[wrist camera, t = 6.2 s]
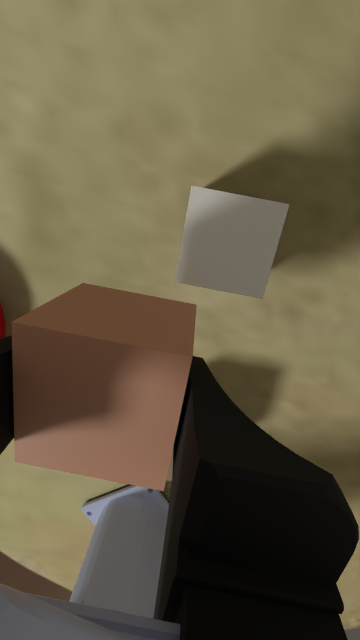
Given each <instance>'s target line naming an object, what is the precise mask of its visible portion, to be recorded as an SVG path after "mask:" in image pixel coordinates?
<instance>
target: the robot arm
mask: <svg viewBox="0 0 360 640" xmlns="http://www.w3.org/2000/svg"><path fill="white" fill-rule="evenodd" d="M13 438H14V402H13V364H12V336H9V337H5V338H1V339H0V454H1V453H2V452H3V451H4V449H5V448H6V447H7V445H8V444H9V443H10V442H11V441H12V439H13ZM81 510H82V511H83V513H84V514H85V515H86V516H87V517H88V518H89V519H90V521H91V522H92V523H93V524H94V525H95V529H94V532H93V535H92V538H91V541H90V543H89V546H88V549H87V552H86V555H85V558H84V561H83V564H82V566H81V569H80V572H79V575H78V578H77V581H76V584H75V587H74V589H73V592H72V595H71V598H70V601H69V602H68V601H63V600H59V599H53V598H48V597H44V596H39V595H34V594H29V593H24V592H21V591H18V590H16V589H14V588H11V587H8V586H6V585H3V584H1V583H0V640H347V637H346V634H345V631H344V628H343V625H342V622H341V619H340V617H339V614H342V612H343V611H344V605H343V601H342V598H341V596H340V593H339V590H338V587H337V585H336V582H337V581H338V579H339V577H340V575H341V574H342V572H343V570H344V569H345V567H346V565H347V563H348V562H349V560H350V558H351V556H352V555H353V553H354V551H355V548H356V545H357V543H358V540H359V530H358V524H357V522H356V520H355V517H354V515H353V513H352V511H351V509H350V507H349V505H348V503H347V501H346V499H345V497H344V495H343V493H342V491H341V489H340V487H339V485H338V484H337V482H336V480H335V479H334V477H333V475H332V474H330V473H328V472H327V471H325V470H323V469H321V468H320V467H318V466H316V465H314V464H313V463H311V462H309V461H307V460H306V459H304V458H302V457H301V456H299V455H297V454H296V453H294V452H293V451H291V450H290V449H288V448H287V447H285V446H284V445H282V444H281V443H279V442H278V441H276V440H275V439H274V438H272V437H271V436H270V435H268V434H267V433H266V432H265V431H263V430H262V429H261V428H260V427H259V426H257V425H256V424H255V423H254V422H253V421H251V420H250V419H249V418H248V417H247V416H246V415H245V414H244V413H243V412H242V411H241V410H240V409H239V408H238V407H237V406H236V405H235V404H234V403H233V402H232V400H231V399H230V398H229V397H228V396H227V394H226V393H225V392H224V391H223V389H222V388H221V387H220V385H219V384H218V382H217V381H216V379H215V378H214V376H213V375H212V373H211V371H210V370H209V368H208V366H207V364H206V363H205V361H204V359H203V358H200V357H195V356H193V357H192V362H191V366H190V371H189V376H188V380H187V385H186V390H185V394H184V399H183V404H182V408H181V413H180V418H179V422H178V427H177V432H176V436H175V441H174V446H173V472H172V486H171V494H170V501H169V503H168V501H167V500H166V499H165V497H164V496H163V495H162V494H161V492H160V491H159V490H155V489H150V488H145V487H140V486H135V485H131V486H128V487H125V488H123V489H120V490H118V491H115V492H113V493H110V494H107V495H105V496H102V497H100V498H97V499H94V500H92V501H89V502H87V503H84V504H83V506H82V508H81Z"/></svg>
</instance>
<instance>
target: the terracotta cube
mask: <svg viewBox="0 0 360 640" xmlns="http://www.w3.org/2000/svg"><path fill="white" fill-rule="evenodd" d="M195 317H196V305H195V304H190V303H185V302H180V301H174V300H169V299H164V298H159V297H154V296H148V295H143V294H138V293H133V292H127V291H122V290H117V289H112V288H107V287H101V286H96V285H91V284H86V283H82V284H80V285H79V286H77V287H75V288H73V289H71V290H69V291H68V292H66V293H64V294H62V295H60V296H58V297H56V298H55V299H53V300H51V301H49V302H47V303H45V304H44V305H42V306H40V307H38V308H36V309H34V310H32V311H31V312H29V313H27V314H25V315H23V316H21V317H19V318H18V319H16V320H14V321H12V322H11V325H12V364H13V402H14V441H15V462H19V463H24V464H29V465H34V466H39V467H44V468H50V469H55V470H60V471H65V472H70V473H75V474H80V475H85V476H90V477H95V478H100V479H105V480H110V481H115V482H120V483H125V484H130V485H135V486H140V487H145V488H150V489H155V490H160V491H164V488H165V483H166V478H167V474H168V469H169V464H170V460H171V455H172V450H173V446H174V441H175V436H176V432H177V427H178V422H179V418H180V413H181V408H182V404H183V399H184V394H185V390H186V385H187V380H188V376H189V371H190V366H191V362H192V357H193V344H194V330H195Z"/></svg>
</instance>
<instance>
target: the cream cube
mask: <svg viewBox="0 0 360 640" xmlns="http://www.w3.org/2000/svg"><path fill="white" fill-rule="evenodd" d="M288 208H289V204H286V203H281V202H275V201H270V200H265V199H259V198H254V197H249V196H244V195H238V194H233V193H228V192H222V191H217V190H212V189H207V188H201V187H196V186H191V192H190V198H189V204H188V209H187V215H186V221H185V226H184V232H183V238H182V244H181V249H180V255H179V261H178V266H177V272H176V278H175V282H178V283H183V284H188V285H193V286H198V287H204V288H209V289H214V290H219V291H224V292H230V293H235V294H240V295H245V296H250V297H256V298H261V299H263V295H264V292H265V288H266V285H267V281H268V278H269V274H270V271H271V267H272V264H273V260H274V257H275V253H276V250H277V246H278V243H279V239H280V236H281V232H282V229H283V225H284V222H285V218H286V215H287V211H288Z"/></svg>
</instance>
